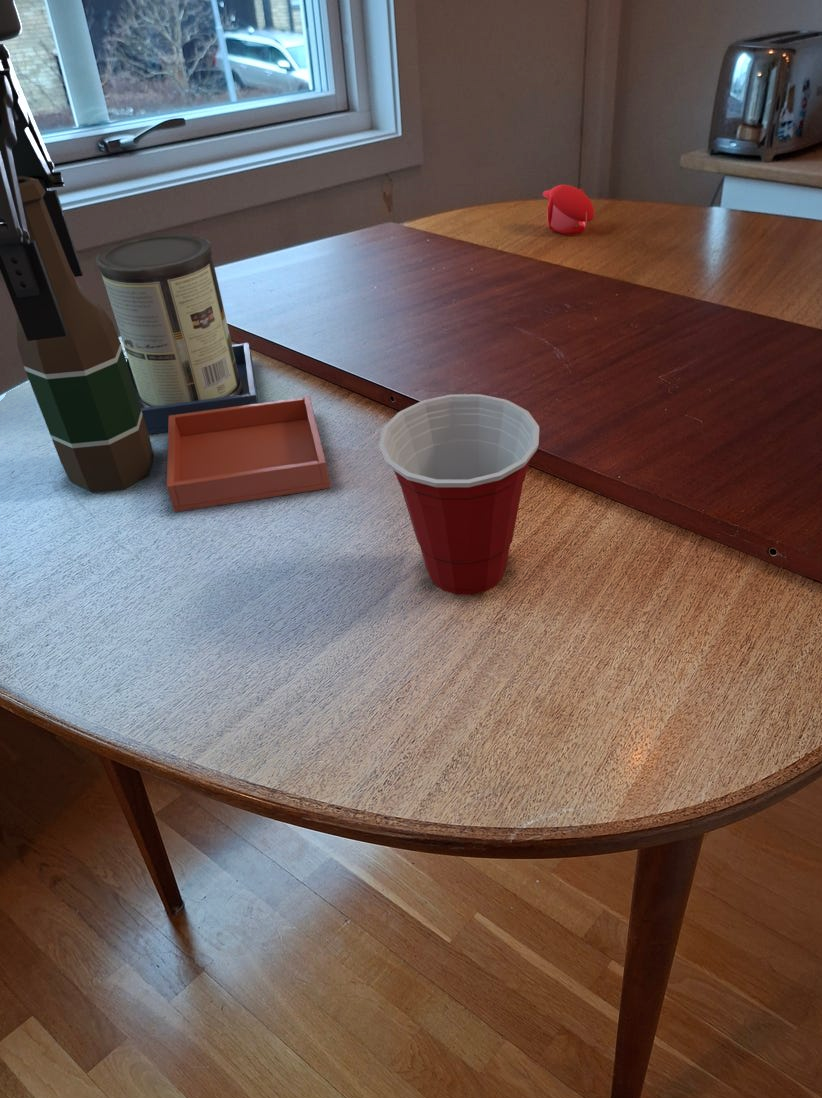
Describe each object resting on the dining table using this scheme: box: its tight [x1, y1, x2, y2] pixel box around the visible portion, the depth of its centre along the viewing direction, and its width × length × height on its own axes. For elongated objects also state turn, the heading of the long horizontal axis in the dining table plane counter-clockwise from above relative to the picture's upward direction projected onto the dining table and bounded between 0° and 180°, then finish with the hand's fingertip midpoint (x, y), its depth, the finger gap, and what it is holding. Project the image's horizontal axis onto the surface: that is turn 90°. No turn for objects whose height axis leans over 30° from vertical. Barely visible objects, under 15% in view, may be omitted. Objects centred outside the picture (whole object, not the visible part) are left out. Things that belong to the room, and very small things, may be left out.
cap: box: [542, 184, 595, 235], centre depth 126 cm, size 8×6×6 cm
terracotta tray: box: [166, 395, 331, 513], centre depth 79 cm, size 13×13×2 cm
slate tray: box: [125, 342, 260, 435], centre depth 89 cm, size 13×13×2 cm
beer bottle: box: [2, 176, 155, 493], centre depth 71 cm, size 8×8×24 cm
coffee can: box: [95, 233, 242, 408], centre depth 85 cm, size 10×10×14 cm
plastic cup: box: [378, 393, 540, 596], centre depth 62 cm, size 11×11×12 cm
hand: (57, 305), depth 69 cm, fingers open, 13 cm apart
